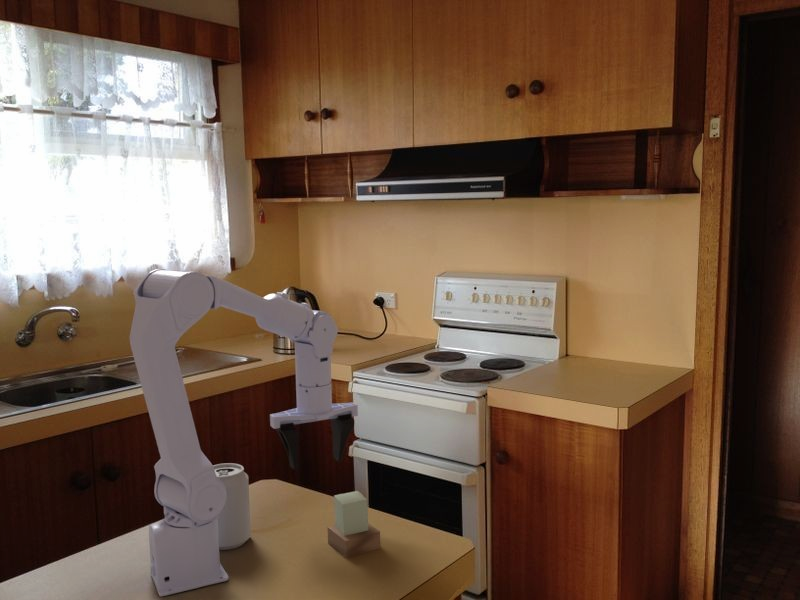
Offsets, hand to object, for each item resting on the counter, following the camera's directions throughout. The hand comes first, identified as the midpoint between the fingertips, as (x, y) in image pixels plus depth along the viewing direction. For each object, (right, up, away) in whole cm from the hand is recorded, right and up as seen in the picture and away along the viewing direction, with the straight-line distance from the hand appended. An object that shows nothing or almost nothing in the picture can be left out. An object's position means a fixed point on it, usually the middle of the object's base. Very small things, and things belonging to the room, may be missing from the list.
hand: (316, 463), depth 123 cm
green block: (+6, -9, -7) cm, 13 cm away
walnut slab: (+7, -12, -7) cm, 15 cm away
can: (-14, -12, -5) cm, 18 cm away
